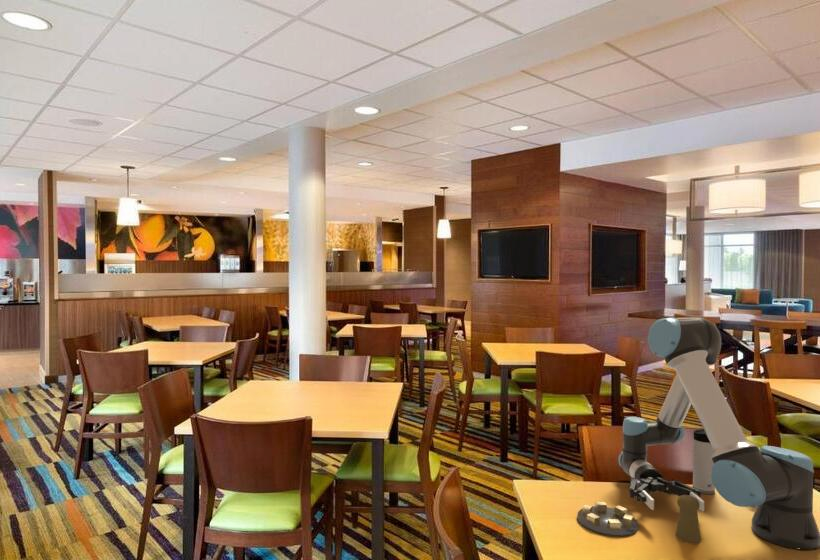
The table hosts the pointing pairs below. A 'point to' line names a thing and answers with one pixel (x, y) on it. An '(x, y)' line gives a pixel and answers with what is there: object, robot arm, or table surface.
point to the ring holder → (607, 520)
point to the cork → (688, 520)
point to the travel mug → (702, 462)
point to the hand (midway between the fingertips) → (677, 505)
